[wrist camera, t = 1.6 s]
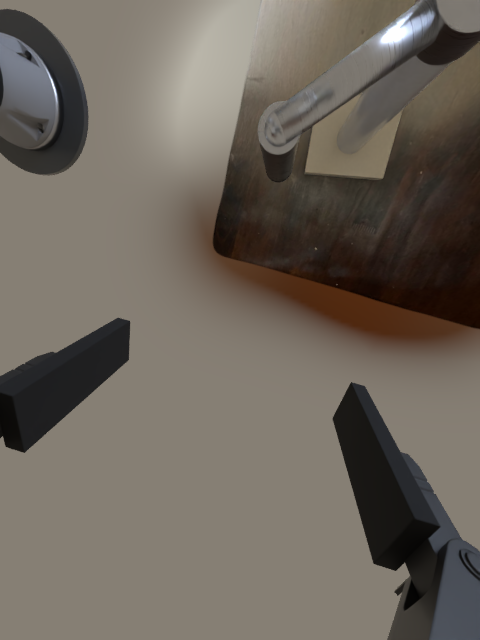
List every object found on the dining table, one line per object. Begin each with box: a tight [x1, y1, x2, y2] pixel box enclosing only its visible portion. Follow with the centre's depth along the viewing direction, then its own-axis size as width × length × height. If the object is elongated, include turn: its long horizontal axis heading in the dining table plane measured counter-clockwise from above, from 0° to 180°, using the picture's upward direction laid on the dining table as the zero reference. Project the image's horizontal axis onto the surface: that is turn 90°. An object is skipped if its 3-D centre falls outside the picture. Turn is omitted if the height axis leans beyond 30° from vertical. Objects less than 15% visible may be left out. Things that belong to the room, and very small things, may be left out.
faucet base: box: [304, 55, 452, 180], centre depth 26 cm, size 12×10×23 cm
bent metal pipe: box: [258, 0, 480, 182], centre depth 20 cm, size 16×5×13 cm, turn 119°
